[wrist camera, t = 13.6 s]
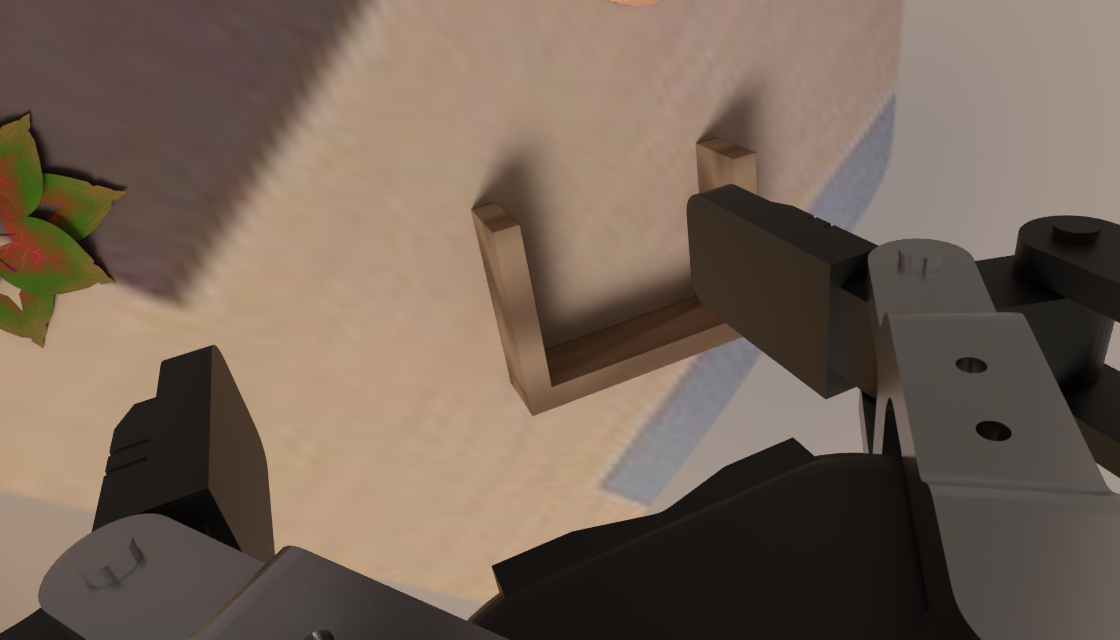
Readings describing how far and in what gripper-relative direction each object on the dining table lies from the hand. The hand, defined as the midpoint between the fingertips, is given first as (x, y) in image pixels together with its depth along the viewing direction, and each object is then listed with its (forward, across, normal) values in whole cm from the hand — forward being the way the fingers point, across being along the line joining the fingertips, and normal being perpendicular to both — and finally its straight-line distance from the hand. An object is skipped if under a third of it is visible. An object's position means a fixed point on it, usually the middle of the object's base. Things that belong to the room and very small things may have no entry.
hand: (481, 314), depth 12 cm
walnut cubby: (+28, -14, +15) cm, 35 cm away
